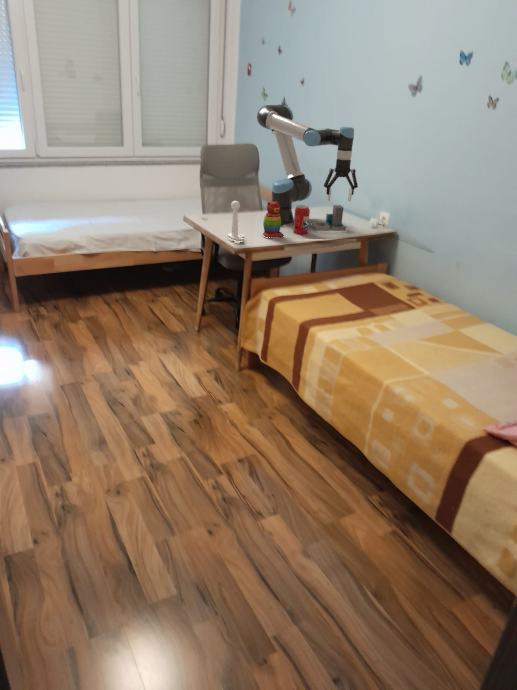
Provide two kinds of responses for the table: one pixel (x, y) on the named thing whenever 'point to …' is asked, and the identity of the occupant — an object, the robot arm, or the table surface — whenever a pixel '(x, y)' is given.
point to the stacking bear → (272, 221)
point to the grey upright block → (337, 215)
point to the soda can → (301, 220)
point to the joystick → (235, 223)
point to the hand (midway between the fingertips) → (339, 200)
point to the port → (329, 222)
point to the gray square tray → (324, 227)
